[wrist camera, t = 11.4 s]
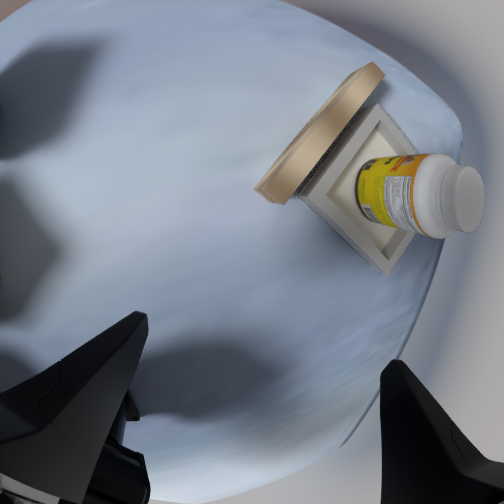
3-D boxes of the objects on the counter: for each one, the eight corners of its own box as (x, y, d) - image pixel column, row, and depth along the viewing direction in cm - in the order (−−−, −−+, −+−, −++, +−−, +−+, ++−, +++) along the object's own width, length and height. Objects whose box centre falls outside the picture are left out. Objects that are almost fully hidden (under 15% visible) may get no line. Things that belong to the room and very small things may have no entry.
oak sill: (269, 201, 20) (284, 204, 17) (253, 189, 19) (266, 189, 16) (361, 85, 19) (385, 74, 16) (350, 74, 19) (372, 61, 15)
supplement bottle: (397, 161, 21) (490, 160, 11) (396, 221, 22) (487, 245, 13) (348, 155, 20) (447, 143, 10) (348, 222, 21) (444, 250, 11)
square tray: (374, 270, 23) (387, 276, 22) (297, 195, 20) (307, 196, 18) (426, 187, 23) (440, 188, 21) (364, 108, 20) (377, 103, 18)
